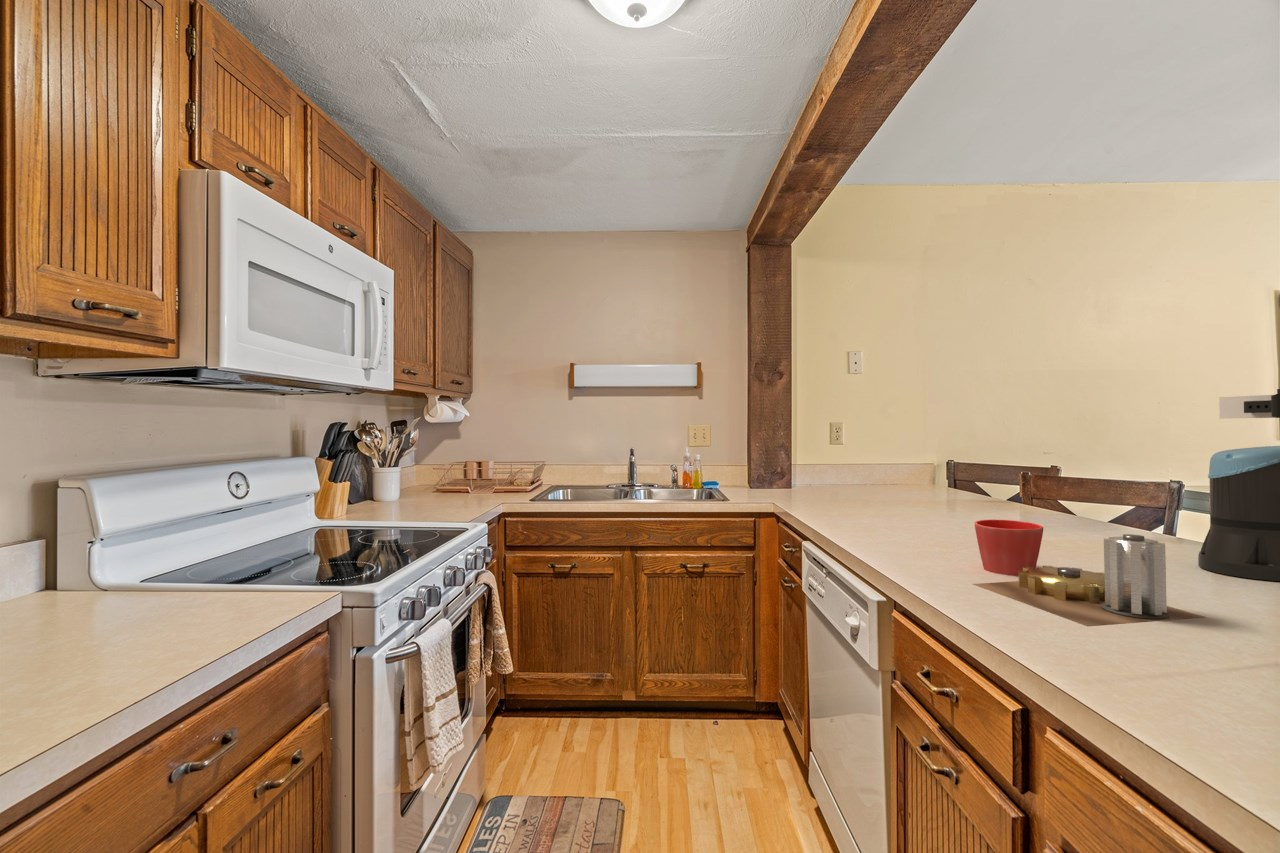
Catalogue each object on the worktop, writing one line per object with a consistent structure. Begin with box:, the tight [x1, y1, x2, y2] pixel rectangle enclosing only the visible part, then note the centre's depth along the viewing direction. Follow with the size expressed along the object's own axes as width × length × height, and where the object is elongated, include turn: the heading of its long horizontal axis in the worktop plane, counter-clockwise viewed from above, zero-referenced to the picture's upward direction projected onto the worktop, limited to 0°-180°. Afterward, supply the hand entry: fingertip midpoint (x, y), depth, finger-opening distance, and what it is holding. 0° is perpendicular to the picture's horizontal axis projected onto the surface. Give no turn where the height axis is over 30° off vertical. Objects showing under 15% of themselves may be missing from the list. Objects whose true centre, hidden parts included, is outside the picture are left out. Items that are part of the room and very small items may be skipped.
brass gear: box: [1017, 565, 1105, 604], centre depth 97 cm, size 14×14×4 cm
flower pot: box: [974, 519, 1044, 577], centre depth 111 cm, size 11×11×10 cm
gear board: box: [972, 580, 1206, 627], centre depth 93 cm, size 19×22×1 cm
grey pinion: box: [1103, 533, 1168, 615], centre depth 86 cm, size 7×7×11 cm
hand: (1265, 407), depth 77 cm, fingers open, 13 cm apart
